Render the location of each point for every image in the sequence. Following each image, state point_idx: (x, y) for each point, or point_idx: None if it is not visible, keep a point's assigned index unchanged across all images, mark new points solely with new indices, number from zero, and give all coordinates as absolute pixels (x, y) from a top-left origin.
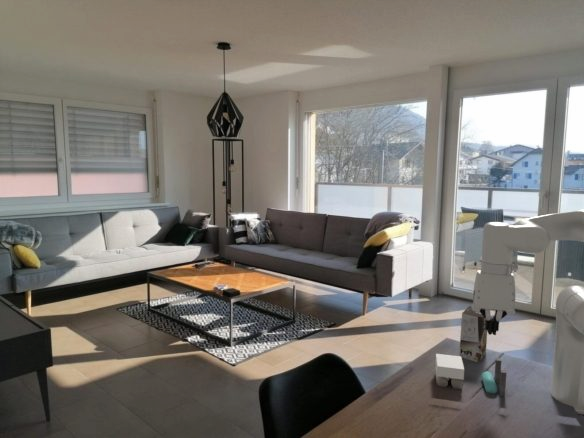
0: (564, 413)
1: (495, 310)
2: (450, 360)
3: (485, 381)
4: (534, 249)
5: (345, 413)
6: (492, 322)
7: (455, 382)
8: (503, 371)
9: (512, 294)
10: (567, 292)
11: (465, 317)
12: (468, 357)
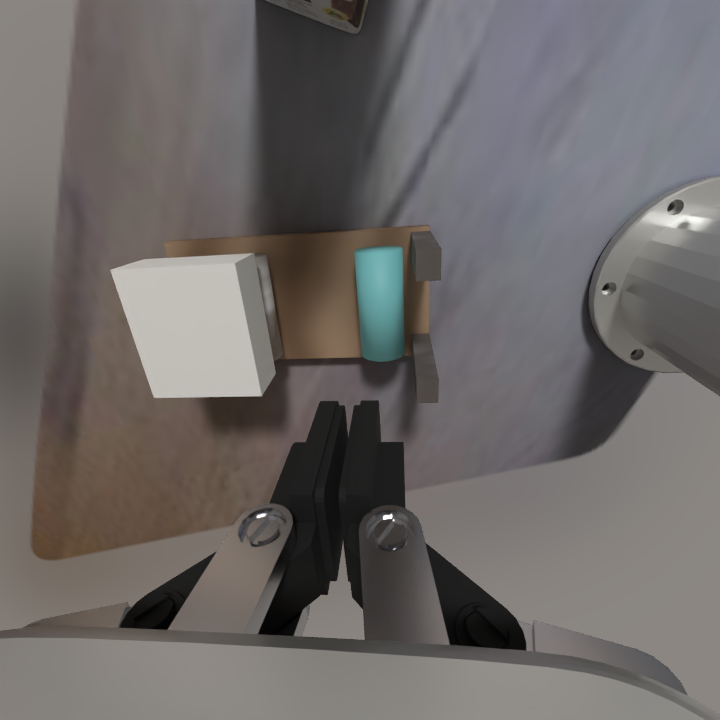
0: (613, 368)
1: (363, 610)
2: (193, 327)
3: (362, 328)
4: None
5: (39, 506)
6: (336, 576)
7: None
8: (427, 392)
9: None
10: None
11: None
12: (296, 3)
